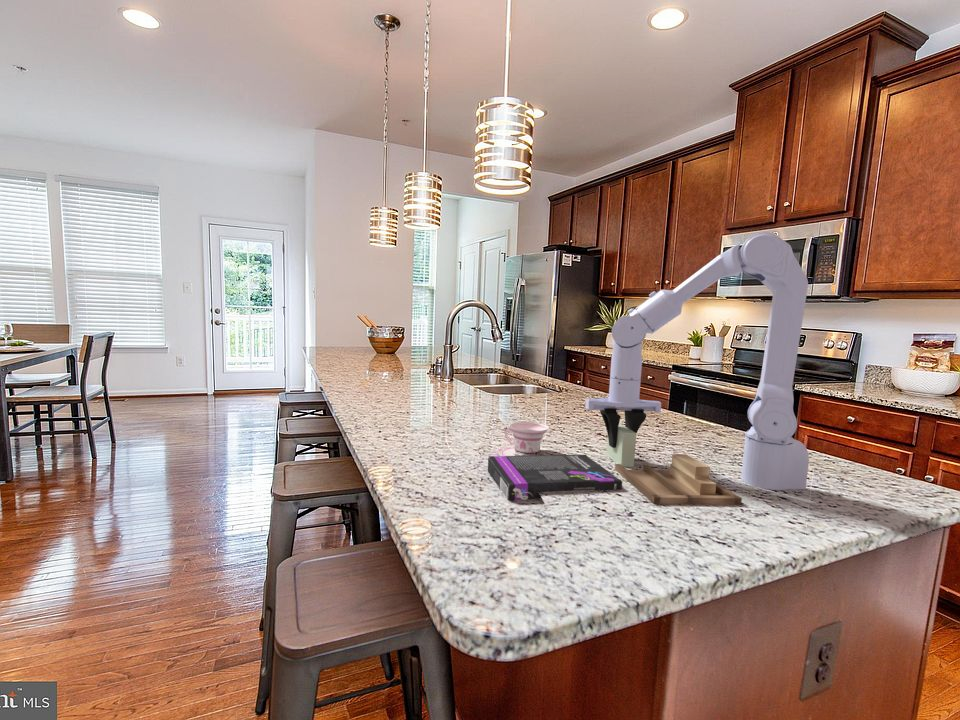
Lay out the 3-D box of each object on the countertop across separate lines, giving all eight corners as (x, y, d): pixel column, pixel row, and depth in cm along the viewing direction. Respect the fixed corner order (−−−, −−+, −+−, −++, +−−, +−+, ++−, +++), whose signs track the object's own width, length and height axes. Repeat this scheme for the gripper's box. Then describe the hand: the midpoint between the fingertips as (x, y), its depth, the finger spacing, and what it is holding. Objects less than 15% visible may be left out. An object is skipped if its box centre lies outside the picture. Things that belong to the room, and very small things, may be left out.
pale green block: (617, 456, 98) (620, 423, 97) (633, 469, 90) (636, 433, 89) (606, 456, 98) (608, 423, 97) (620, 469, 90) (623, 433, 89)
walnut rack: (686, 475, 89) (687, 465, 89) (740, 510, 73) (741, 498, 73) (614, 474, 88) (615, 464, 88) (653, 510, 72) (654, 497, 72)
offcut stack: (684, 474, 86) (686, 453, 86) (716, 495, 77) (718, 471, 76) (668, 474, 86) (670, 453, 86) (698, 495, 76) (700, 471, 76)
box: (506, 506, 74) (622, 499, 78) (507, 484, 73) (623, 478, 77) (487, 474, 87) (586, 469, 91) (487, 455, 87) (587, 451, 91)
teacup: (557, 450, 103) (559, 422, 102) (553, 467, 91) (555, 436, 90) (502, 445, 105) (504, 417, 105) (492, 460, 94) (493, 430, 93)
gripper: (652, 376, 97) (646, 441, 98) (582, 374, 96) (578, 440, 97) (668, 381, 90) (662, 451, 91) (594, 379, 89) (589, 450, 90)
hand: (620, 446), depth 94 cm, fingers closed on pale green block, 2 cm apart
